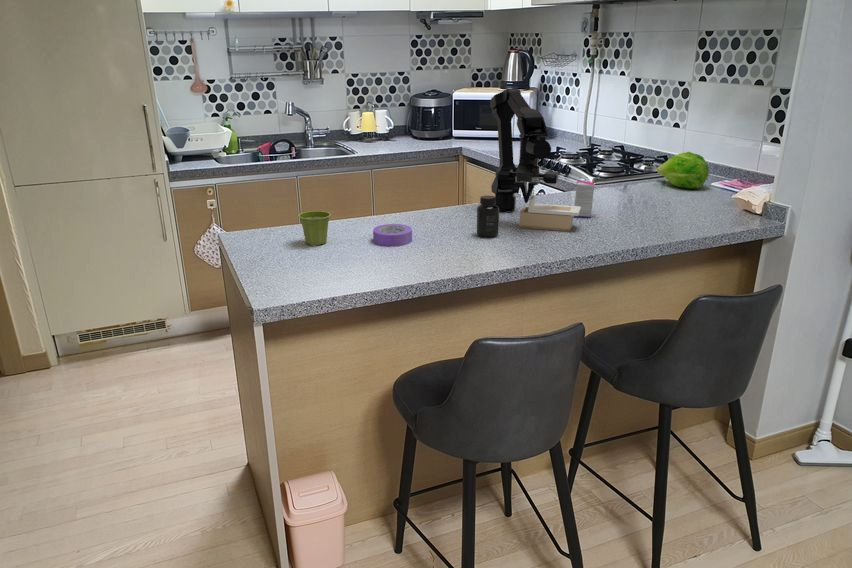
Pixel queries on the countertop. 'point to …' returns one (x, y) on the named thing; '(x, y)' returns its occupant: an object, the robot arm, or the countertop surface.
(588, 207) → the supplement box
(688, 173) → the lettuce
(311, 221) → the plant pot
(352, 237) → the countertop surface
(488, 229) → the supplement bottle
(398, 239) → the masking tape
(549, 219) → the base
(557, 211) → the lid
